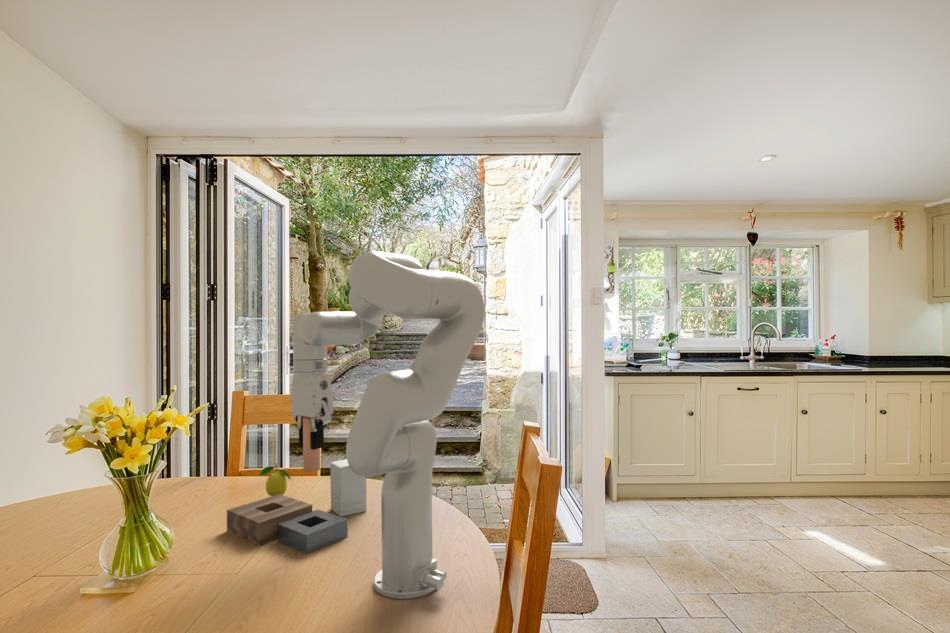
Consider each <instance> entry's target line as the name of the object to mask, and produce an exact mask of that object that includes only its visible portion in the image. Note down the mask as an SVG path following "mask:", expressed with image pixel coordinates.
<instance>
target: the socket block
mask: <svg viewBox="0 0 950 633" xmlns="http://www.w3.org/2000/svg"><path fill="white" fill-rule="evenodd" d="M312 511H313V504H311V503H308V502H306V501H305V502H304V501H301V500H298V499H296V498H292V497H289V496H286V495H284V494H283V495H280V494H278V495H274V496H268V497H265V498H261V499H258V500H256V501H251V502H249V503H245V504H242V505H241V504H240V505H239V506H235V507H231V508H229V509H226V531H227V532H228V533H230V534H233V535H236V536H238V537H240V538H242V539H244V540H247V541H249V542H251V543H253V544H256V545H258V546H261V545H264V544H267V543H269V542H271V541H274V540H277V524H278V523H281V522H284V521H287V520H289V519H292V518H295V517H298V516H301V515H304V514H307V513H309V512H312Z"/></svg>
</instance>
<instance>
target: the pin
mask: <svg viewBox="0 0 950 633" xmlns="http://www.w3.org/2000/svg"><path fill="white" fill-rule="evenodd" d="M319 416H320V415H319ZM319 416H318V417H319ZM318 421H319V420H316V422H317V423H318ZM310 432H312V423H311V418H309V417H303V447H302V456H303V457H302V459H303V463H302V464H303V472H305V473H314V472H317V471H320V469H321V465H320V464H321V452H320V449H321V448H318V449H314V450H312V449H311V446H310Z"/></svg>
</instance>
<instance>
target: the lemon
mask: <svg viewBox="0 0 950 633" xmlns="http://www.w3.org/2000/svg"><path fill="white" fill-rule="evenodd" d="M277 467H278V462H276V463H275V466H266V467H264V468H263V469H262V470H261V471H260V472H259V476H265V475H267V474H269V473H271V472H272V471H273V470H274V469H275V471H274V472H273V473H271V474H270V475H269V476H268V478H267V480H266V483H265V491H266V493H267V495H268V496H269V497H271V496H274V495H278V494H280V495H284V494H285V493H286V491H287V488H288V482H287V478H288V479H289V480H290V481H291V477H290V476H291V475H289V473H288V472H287V471H285V470H284V469H278V468H277Z"/></svg>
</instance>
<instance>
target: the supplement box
mask: <svg viewBox="0 0 950 633" xmlns="http://www.w3.org/2000/svg"><path fill="white" fill-rule="evenodd" d="M329 463H330V468H329V469H330V470H329V471H330V510H332V511H333V512H334V513H335V514H337V516H339V517H345V516H351V515H355V514H359V513H363V512H367V510H368V509H367V506H368V505H367V477H363V476H360V475H358V474H356V473H355V472H353V470H352V469H351V468H350V466H349V464H348V461H347V458H346V459H341V460H336V461H331V462H329Z"/></svg>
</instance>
